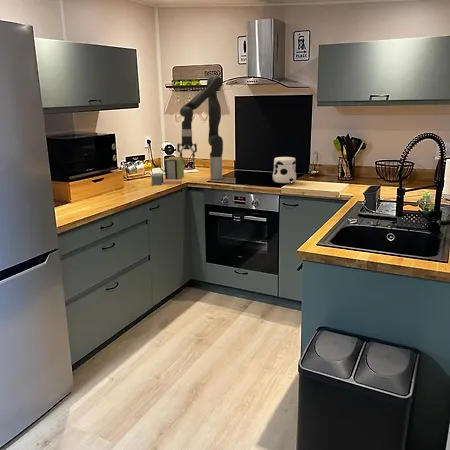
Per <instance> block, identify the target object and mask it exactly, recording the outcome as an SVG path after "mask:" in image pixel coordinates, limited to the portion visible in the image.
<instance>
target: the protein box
mask: <svg viewBox="0 0 450 450" xmlns="http://www.w3.org/2000/svg"><path fill="white" fill-rule="evenodd" d="M163 163H164V177H165V178H164V180H165V179H182V178H183V177H185V170H184V169H185V167H184V166H185V165H184V157H183V156H182V158H181V157H180V156H170V157H167V158H165V159H164V162H163Z"/></svg>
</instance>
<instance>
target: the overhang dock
mask: <svg viewBox="0 0 450 450" xmlns="http://www.w3.org/2000/svg"><path fill="white" fill-rule="evenodd" d="M150 178H151V185H152V186H159V185H160V186H162V185H163V181H164V180H165V178H164V173H163V172H155V173H153V174H152V175H151V177H150Z"/></svg>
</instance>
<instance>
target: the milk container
mask: <svg viewBox="0 0 450 450" xmlns="http://www.w3.org/2000/svg"><path fill="white" fill-rule="evenodd" d="M296 162H297V161H296V157H292V156H278V157H275V158H274V159H273V173H272V181H273V182H274V183H276V184H280V185H287V184H288V183H290V184H292V183H291V182H294V181H295V182H296V180H297V173H296V166H297V165H296ZM295 182H294V183H295ZM288 185H289V184H288Z"/></svg>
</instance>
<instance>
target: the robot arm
mask: <svg viewBox="0 0 450 450" xmlns="http://www.w3.org/2000/svg"><path fill="white" fill-rule="evenodd" d="M223 83H224V81H223V79H222V78H221V77H220V76H209V77H208V78H207V81H206V88H204V89H203V90H201V91H200V92H199V93H197V94H196V95H195V96H193V98H192V99H191V100H190V101H188V102H187V103H185V104H184V105H183V106H182V107H181V108H180V110H179V114H180V116H181V117H182V118H183V120H182V122H181V143H179V142H178V143H177V146H176V147H177V148H176V150H177V151H176V152H177V153H179V157H181V158H182V157H183V151H185V150H190V151H191V152H192V159H194V158H195V155H196V154H195V153H197V152H198V148H197V146H198V145H197V143H193V131H192V128H193V127H192V123H193V118H194V110H197V109H198V108H199V107H200V106H201V105H202V104H203V103H204V102H205V101H206V100H208V101H207V104H208V140H207V141H208V144H209V146H210V147H211V151H210V152H209V162H210V163H209V168H210V169H209V171H210V173H209V174H210V176H209V177H210V180H213V181H214V180H217V181H218V180H223V153H224V141H223V138H222V137H221V136H220V135H219V126H220V122H221V117H222V110H221V109H222V108H221V104H220V102H219V99H218V90H220V89H221V88H222V87H223ZM180 147H181V149H180ZM193 147H194V149H193Z"/></svg>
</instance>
